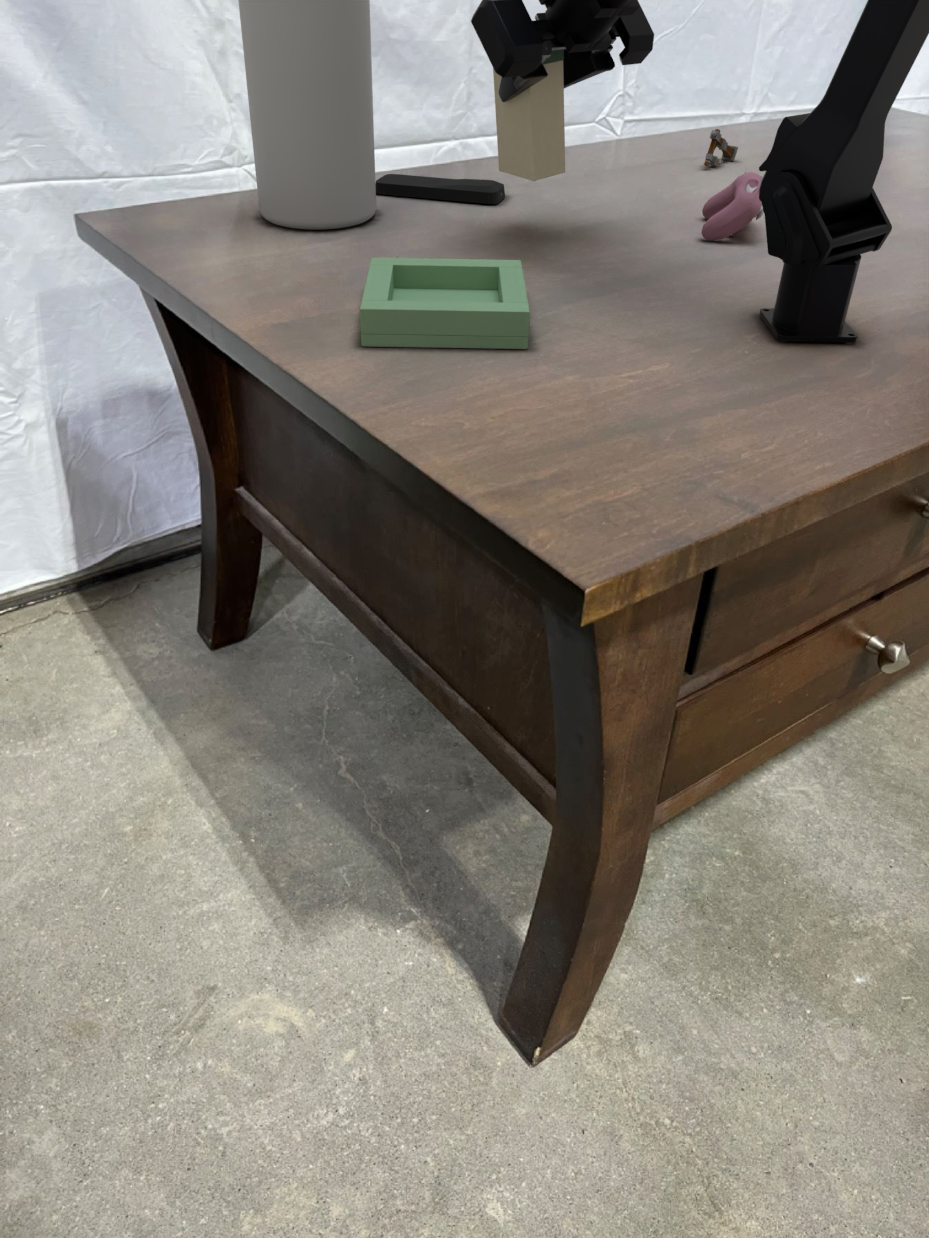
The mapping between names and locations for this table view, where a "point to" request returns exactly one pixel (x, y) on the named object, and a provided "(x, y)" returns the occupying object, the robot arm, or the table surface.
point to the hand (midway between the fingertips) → (520, 95)
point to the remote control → (441, 188)
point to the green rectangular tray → (445, 304)
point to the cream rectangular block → (533, 125)
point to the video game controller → (732, 208)
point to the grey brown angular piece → (721, 143)
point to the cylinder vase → (311, 110)
